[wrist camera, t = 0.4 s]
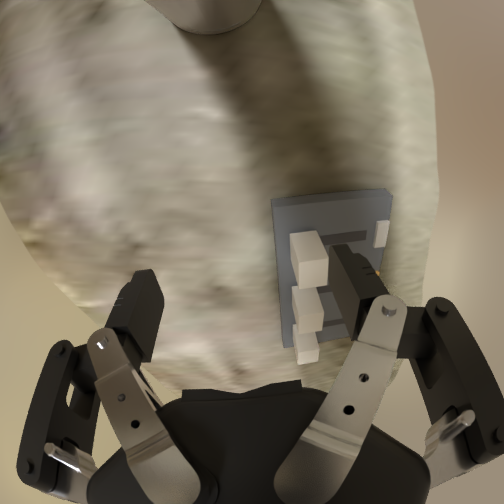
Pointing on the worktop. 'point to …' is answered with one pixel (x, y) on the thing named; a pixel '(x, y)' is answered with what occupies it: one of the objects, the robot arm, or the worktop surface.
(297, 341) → the slider
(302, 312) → the slider middle
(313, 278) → the slider
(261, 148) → the worktop surface
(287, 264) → the switch board
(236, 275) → the worktop surface
